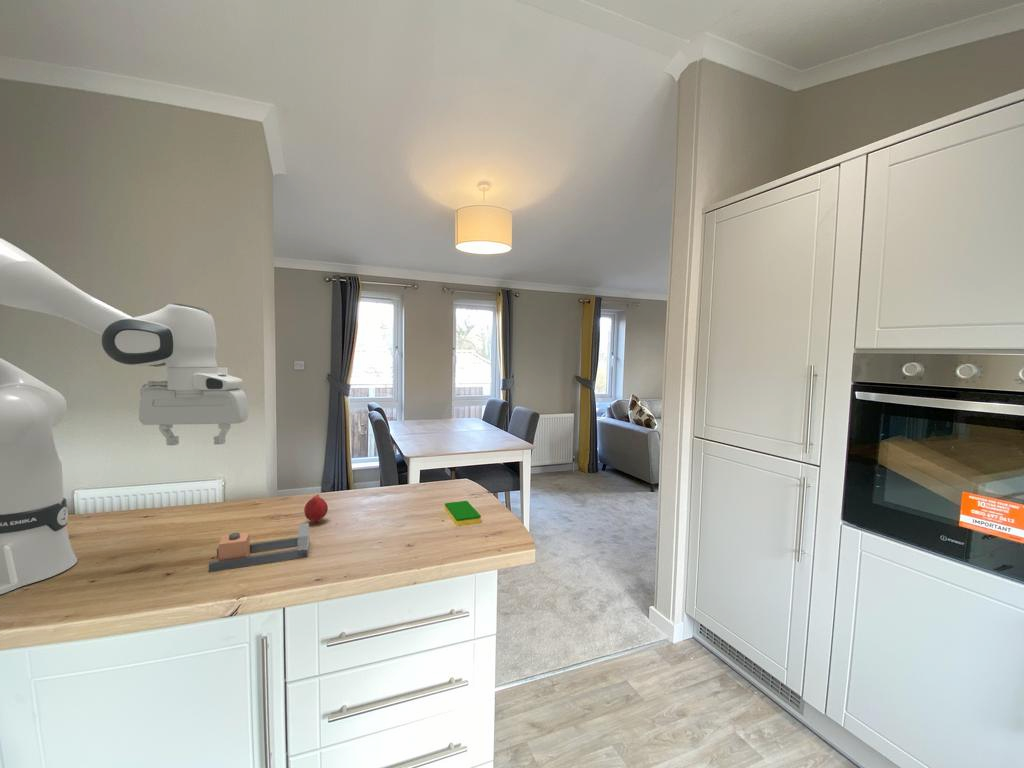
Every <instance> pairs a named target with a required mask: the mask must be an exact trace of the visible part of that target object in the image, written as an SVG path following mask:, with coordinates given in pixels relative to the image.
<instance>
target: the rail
mask: <svg viewBox="0 0 1024 768" xmlns="http://www.w3.org/2000/svg"><path fill="white" fill-rule="evenodd" d="M309 546H310V522H305V523H299V526H298V533H297V536H295V537H289V538H281V539H273V540H267V541H258V542H250V554H253V553H258V552H259V553H260V552H266V551H272V550H278V549H280V550H281V549H285V548H291V547H297V548H296V549H295V548H294V549H289V550H281V551H275V552H268V553H261V554H253V555H249V556H246V557H239V558H232V559H225V560H219V559H218V560H213V561H212V560H211V561H209V563H208V573H211V572H218V571H219V572H220V571H225V570H232V569H237V568H245V567H251V566H258V565H265V564H270V563H276V562H283V561H289V560H291V561H292V560H297V559H303V558H308V557H309ZM216 558H219V550H218V547H217V549H216Z"/></svg>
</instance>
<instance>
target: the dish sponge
mask: <svg viewBox="0 0 1024 768" xmlns="http://www.w3.org/2000/svg"><path fill="white" fill-rule="evenodd" d="M444 511H445V512H446V514H447V515H448V517H450V518H449V519H451V521H452V522H453V523H454V525H455V526H456V527H461V526H469V525H474V524H475V525H476V524H481V523H482V515H481V514H480V513H479V512H478V511H477V509H476V508H474V507H473V506H472V505H471V503H470V502H469V501H468V500H462V501H453V502H452V501H451V502H445V503H444Z"/></svg>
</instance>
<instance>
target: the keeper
mask: <svg viewBox="0 0 1024 768" xmlns="http://www.w3.org/2000/svg"><path fill="white" fill-rule="evenodd" d="M250 539H251V538H250V531H249V532H233V533H230V534H224V535H223V536H222V538H221V539H220V541H219V543H218V545H217V546H218V547H217V548H218V550H219V557H218V560H225V559H232V558H239V557H246V556H250V555H251V553H250V543H251V542H250Z"/></svg>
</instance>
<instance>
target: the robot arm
mask: <svg viewBox="0 0 1024 768" xmlns="http://www.w3.org/2000/svg"><path fill="white" fill-rule="evenodd" d="M0 305H3V306H6V307H12V308H16V309H22V310H27V311H31V312H32V311H33V312H38V313H42V314H43V313H44V314H47V315H52V316H54V317H58V318H62V319H65V320H67V321H71V322H73V323H75V324H77V325H79V326H81V327H84V328H86V329H88V330H90V331H92V332H94V333H96V334H99V335H101V346H102V349H103V350H104V353H105V354H106V355H107V356H109V358H111V359H112V360H113V361H115V362H118V363H119V364H124V365H127V366H132V367H133V366H134V367H141V366H142V367H155V368H156V367H164V366H166V367H165V368H166V380H161V381H155V380H150V381H147V382H146V383H144V384H142V386H141V387H140V390H139V393H140V394H139V396H140V402H139V408H138V420H139V422H140V423H141V424H142V425H143V426H158V429H159V432H160V433H161V434H162V435H163V437H164V438H165V445H166V446H177V445H179V443H180V440H179V439H180V438H179V437H180V436H179V435H175V433H174V432H173V431H172V429H173V427H174V425H218V429H219V430H220V431H219V433H218V434H217V435H214V436H213V444H214V445H224V444H226V435H227V434H228V432H229V431H230V429H231V424H232V425H233V424H236V425H237V424H241V423H245V422H246V421H247V419H248V418H249V407H248V406H249V404H248V399H247V396H246V392H244V391H245V390H242V389H241V388H243V386H244V381H243V379H242V378H240V377H236V376H234V375H233V376H232V375H230V374H226V373H223V372H221V371H219V367H218V363H217V359H216V352H217V349H218V342H217V341H218V339H217V330H216V324H215V320H214V317H213V316H212V314H211V313H210V312H209V311H208V310H205V309H203V308H201V307H198V306H193V305H189V304H183V303H173V302H172V303H168V304H167V305H166V306H164V307H162V308H161V309H158V310H156V311H153V312H150V313H147V314H142V315H138V316H133V315H130V314H129V313H126V312H124V311H122V310H120V309H118V308H117V307H114V306H112V305H111V304H108V303H106V302H105V301H103V300H100V299H99V298H96V297H95V296H93V295H91V294H88V293H86V292H84V291H83V290H82V289H80V288H78V287H77V286H76V285H74V284H72V283H71V282H69V281H68V280H67V279H65V278H64V277H62V276H61V275H60V274H58V273H56V272H55V271H53V269H51V268H49V267H48V266H46V265H45V264H44V263H42V262H40V261H39V260H38V259H36V258H35V257H33V256H32V255H30V254H28V252H25V251H24V250H23V249H20V248H19V247H18V246H16V245H14V244H12V243H11V242H9V241H7V240H5V239H4V238H1V237H0ZM67 410H68V405H67V401H66V399H65V396H64V395H63V394H62V393H61V392H60V391H58V390H57V389H55V388H53V387H51V386H49V385H48V384H46V383H45V382H43V381H41V380H40V379H37V378H36V377H34V376H33V375H31V374H30V373H29V372H27V371H25V370H23V369H21V368H19V367H18V366H16V365H14V364H12V363H11V362H9V361H6V360H5V359H3V358H1V357H0V595H2V594H3V595H4V594H5V593H8V592H11V591H13V590H15V589H19V588H20V587H24V586H27V585H30V584H33V583H36V582H41V581H43V580H46V579H49V578H52V577H54V576H56V575H59V574H61V573H64V572H65V571H67V570H69V569H70V568H73V566H74V565H75V564H76V563H78V557H77V556H76V554H75V552H74V549H73V548H72V547H73V546H72V545H71V541H70V538H69V534H68V527H67V525H68V517H69V512H68V505H67V499H66V498H65V497H64V482H63V479H64V478H63V463H62V461H61V460H60V458H59V455H58V452H57V447H56V444H55V440H54V436H53V428H55V427H57V426H58V425H59V424H60V423H61V422H62V421H63V419H65V416H66V414H67Z"/></svg>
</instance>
